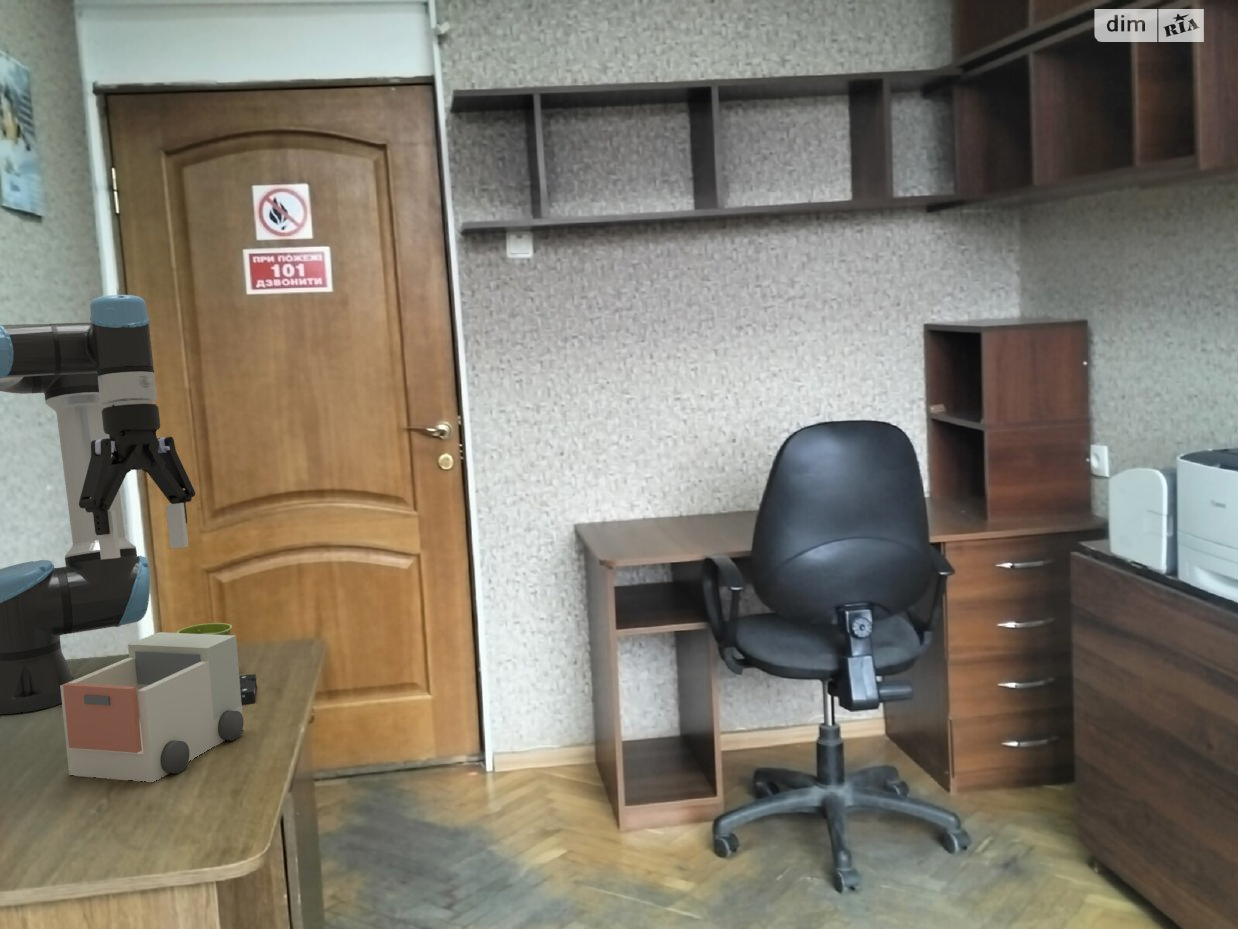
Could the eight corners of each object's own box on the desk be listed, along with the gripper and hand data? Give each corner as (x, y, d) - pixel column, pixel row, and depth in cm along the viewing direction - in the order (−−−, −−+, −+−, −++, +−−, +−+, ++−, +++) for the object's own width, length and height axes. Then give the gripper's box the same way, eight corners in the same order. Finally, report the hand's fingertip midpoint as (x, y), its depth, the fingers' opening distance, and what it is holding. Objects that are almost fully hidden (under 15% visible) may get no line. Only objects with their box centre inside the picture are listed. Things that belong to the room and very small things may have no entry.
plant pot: (182, 672, 210) (178, 625, 209) (236, 665, 213) (232, 620, 212) (178, 686, 201) (174, 638, 200) (235, 679, 204) (231, 632, 203)
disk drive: (256, 689, 200) (166, 698, 196) (256, 673, 200) (165, 682, 196) (255, 707, 190) (160, 717, 186) (254, 690, 190) (159, 700, 186)
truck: (60, 774, 161) (50, 671, 160) (159, 724, 181) (151, 632, 180) (162, 783, 157) (152, 677, 155) (251, 730, 177) (243, 635, 175)
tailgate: (67, 748, 159) (61, 685, 158) (74, 745, 160) (68, 682, 159) (135, 753, 156) (129, 689, 155) (141, 750, 157) (136, 686, 156)
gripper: (82, 400, 150) (100, 561, 150) (209, 402, 174) (225, 541, 174) (38, 407, 153) (56, 565, 153) (169, 408, 176) (185, 545, 176)
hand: (146, 553), depth 163 cm, fingers open, 13 cm apart
